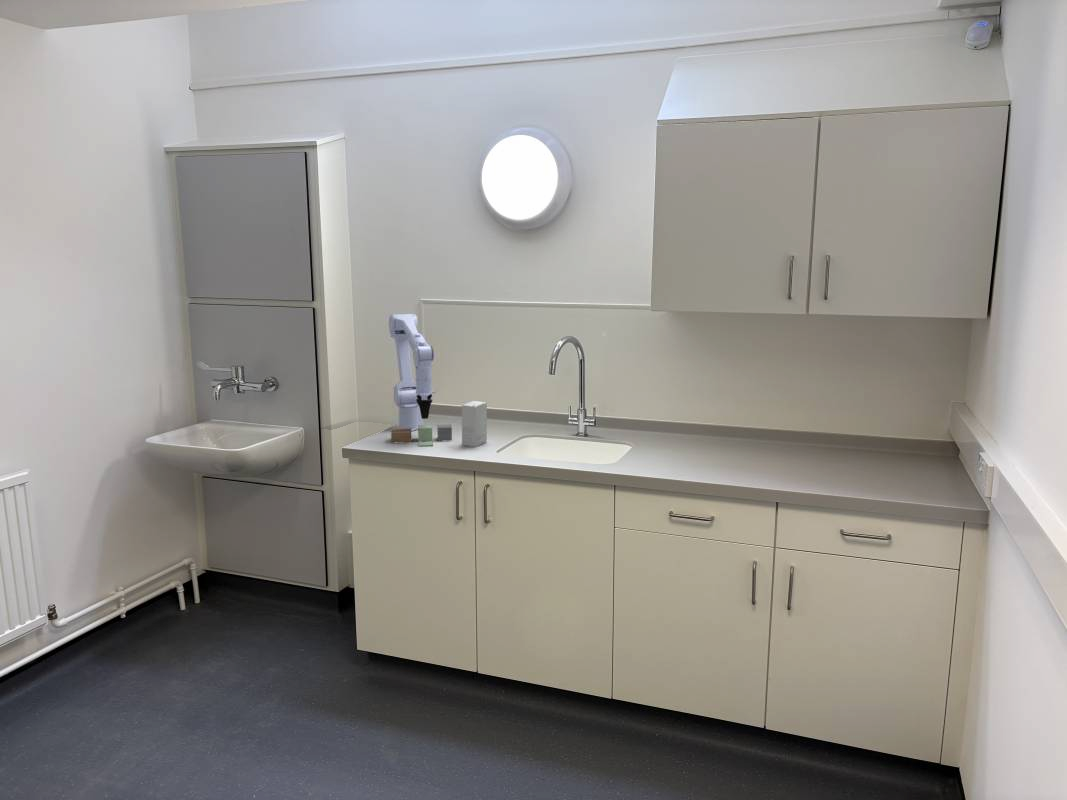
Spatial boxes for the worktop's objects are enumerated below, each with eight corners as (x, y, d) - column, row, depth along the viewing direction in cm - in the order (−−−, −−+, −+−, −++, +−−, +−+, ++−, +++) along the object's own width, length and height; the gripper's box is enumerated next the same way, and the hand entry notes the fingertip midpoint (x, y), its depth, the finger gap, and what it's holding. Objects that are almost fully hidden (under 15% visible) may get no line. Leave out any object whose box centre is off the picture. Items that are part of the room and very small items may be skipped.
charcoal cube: (437, 438, 285) (437, 424, 284) (451, 437, 286) (451, 424, 285) (437, 441, 280) (437, 427, 279) (451, 440, 281) (451, 427, 280)
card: (418, 443, 277) (418, 441, 277) (432, 442, 278) (432, 441, 278) (418, 446, 272) (418, 445, 272) (433, 446, 273) (432, 444, 273)
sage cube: (418, 438, 284) (418, 425, 283) (432, 438, 285) (431, 424, 284) (418, 441, 279) (418, 428, 278) (432, 441, 280) (432, 427, 279)
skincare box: (473, 440, 281) (472, 400, 278) (487, 442, 278) (487, 401, 276) (461, 445, 274) (460, 404, 271) (475, 447, 271) (475, 405, 268)
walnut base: (392, 439, 284) (391, 428, 283) (411, 438, 285) (411, 428, 284) (391, 443, 277) (391, 433, 276) (411, 443, 278) (411, 432, 277)
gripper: (435, 382, 272) (436, 420, 274) (434, 375, 286) (435, 412, 288) (415, 382, 270) (416, 420, 273) (415, 376, 285) (416, 412, 287)
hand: (424, 416), depth 280 cm, fingers open, 7 cm apart
